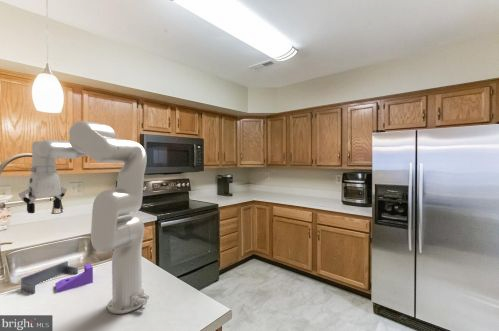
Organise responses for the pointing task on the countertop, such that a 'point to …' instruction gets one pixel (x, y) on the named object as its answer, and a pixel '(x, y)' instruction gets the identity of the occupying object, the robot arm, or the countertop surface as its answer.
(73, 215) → the countertop surface
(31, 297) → the countertop surface
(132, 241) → the robot arm
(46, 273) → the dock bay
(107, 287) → the countertop surface
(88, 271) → the bracket
